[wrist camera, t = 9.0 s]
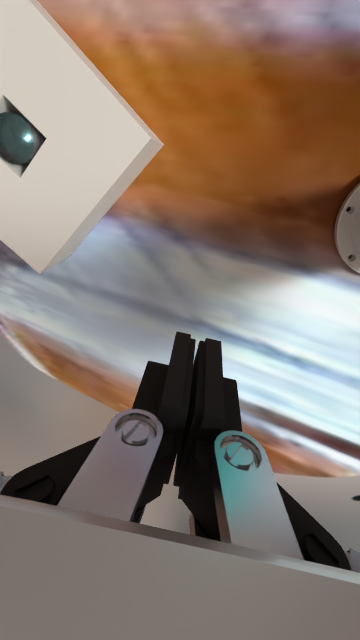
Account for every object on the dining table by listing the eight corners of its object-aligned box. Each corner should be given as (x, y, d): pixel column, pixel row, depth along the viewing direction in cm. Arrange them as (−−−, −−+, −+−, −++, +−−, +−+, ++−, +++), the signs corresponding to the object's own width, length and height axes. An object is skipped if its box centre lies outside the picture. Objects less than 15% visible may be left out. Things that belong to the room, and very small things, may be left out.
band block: (29, -8, 29) (-30, -66, 22) (163, 144, 34) (150, 137, 27) (-52, 145, 36) (-117, 138, 29) (70, 255, 40) (39, 273, 33)
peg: (46, 114, 33) (4, 100, 27) (75, 144, 34) (42, 138, 28) (27, 144, 35) (-18, 138, 28) (55, 172, 36) (19, 173, 29)
